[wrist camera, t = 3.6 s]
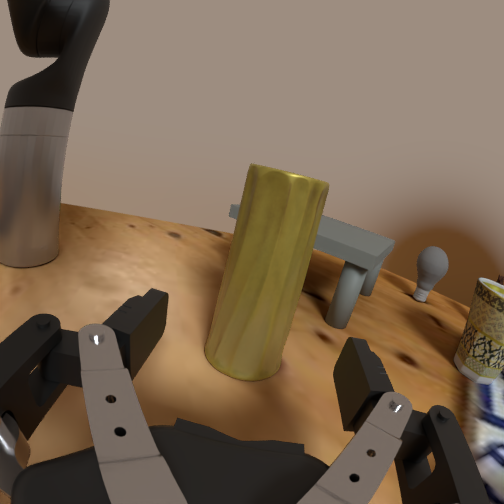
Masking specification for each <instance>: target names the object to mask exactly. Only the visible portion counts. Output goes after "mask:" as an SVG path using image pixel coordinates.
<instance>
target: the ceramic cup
mask: <svg viewBox="0 0 504 504" xmlns="http://www.w3.org/2000/svg"><path fill="white" fill-rule="evenodd" d="M454 363H455V364H456V366H457V368H458V370H459V372H461V373H462V374H463V375H465V376H466V377H468V378H469V379H470V380H472V381H473V382H475V383H481V384H488V385H489V384H490V383H492V382H493V380H494V379H495V378H496V377H497V376H498V375H499V373H500V372H501V371H502V370H503V368H504V286H503V285H501V284H499V283H496V282H494V281H491V280H488V279H485V278H478V281H477V285H476V288H475V291H474V295H473V299H472V303H471V307H470V311H469V316H468V320H467V323H466V326H465V329H464V332H463V335H462V338H461V340H460V343H459V346H458V348H457V351H456V354H455V357H454Z"/></svg>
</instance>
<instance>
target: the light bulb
mask: <svg viewBox="0 0 504 504" xmlns="http://www.w3.org/2000/svg"><path fill="white" fill-rule="evenodd" d="M447 270H448V259H447V256H446V254H445V252H444V251H443V250H441V249H440V248H438V247H433V246H432V247H428V248H426V249H424V250H423V251H422V252H421V253H420V254H419V256H418V259H417V271H418V279H417V287H416V290H415V292H414V295H413V297H414V298H415V299H416V300H417V301H419V302H424V301H426V299H427V298H426V297H427V295H428V294H429V292H430V291H431V290H432V289H433V287H434V285H435V284H436V283H437V282H438V281H439V280H440V279H441V278H442V277H443V276H444V275H445V274H446V272H447Z"/></svg>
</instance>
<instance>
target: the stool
mask: <svg viewBox="0 0 504 504" xmlns="http://www.w3.org/2000/svg"><path fill="white" fill-rule="evenodd" d="M239 208H240V205H233V204H232V205H231V208H230V212H229V217H232V218H234V219H237V217H238V212H239ZM394 244H395V241H394V240H391V239H388V238H386V237H383V236H381V235H378V234H375V233H373V232H370V231H367V230H364V229H361V228H359V227H356V226H352V225H350V224H347V223H344V222H341V221H338V220H335V219H333V218H330V217H326V216H324V215H322V216H321V220H320V224H319V228H318V232H317V236H316V240H315V244H314V247H313V248H314V249H317V250H320V251H322V252H325V253H327V254H330V255H332V256H335V257H338V258H340V259H343V260H345V264H344V267H343V270H342V273H341V276H340V279H339V282H338V285H337V288H336V290H335V293H334V296H333V299H332V302H331V304H330V307H329V310H328V312H327V315H326V318H325V321H326V323H327V324H328V325H330V326H332V327H334V328H338V329H344V328H346V326H347V323H348V321H349V319H350V316H351V314H352V311H353V309H354V306H355V304H356V301H357V298H358V296H359V293H360V294H362V295H365V296H370V295H371V293H372V290H373V288H374V285H375V282H376V279H377V277H378V274H379V271H380V268H381V265H382V263H383V260H384V258H385V257H386V256H387V255H388V254H389V253H390V252H391V251H392V250H393V246H394Z"/></svg>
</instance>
